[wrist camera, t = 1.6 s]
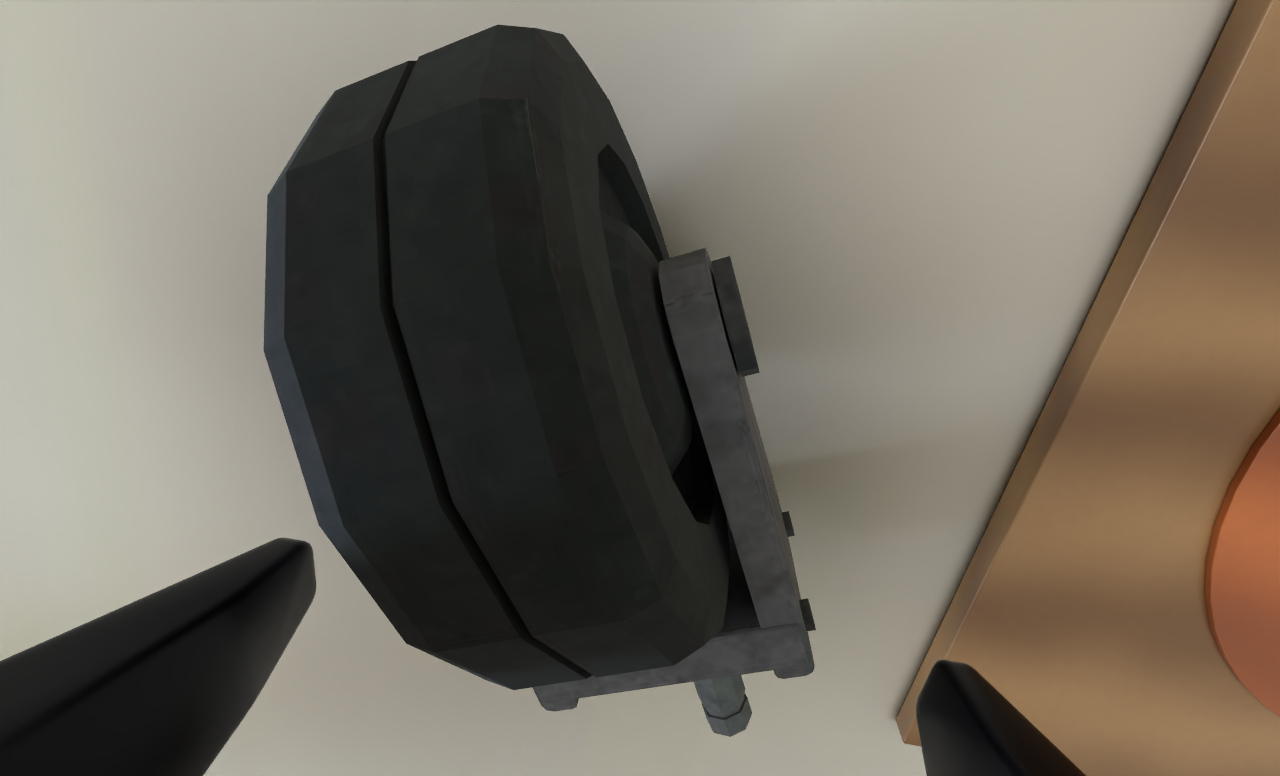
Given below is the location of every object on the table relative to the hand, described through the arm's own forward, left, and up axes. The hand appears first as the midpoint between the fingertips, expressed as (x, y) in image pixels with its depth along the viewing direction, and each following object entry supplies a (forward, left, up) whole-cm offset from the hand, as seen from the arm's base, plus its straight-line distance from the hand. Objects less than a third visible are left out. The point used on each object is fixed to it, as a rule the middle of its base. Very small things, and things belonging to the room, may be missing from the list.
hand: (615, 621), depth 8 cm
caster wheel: (0, 0, -7) cm, 7 cm away
